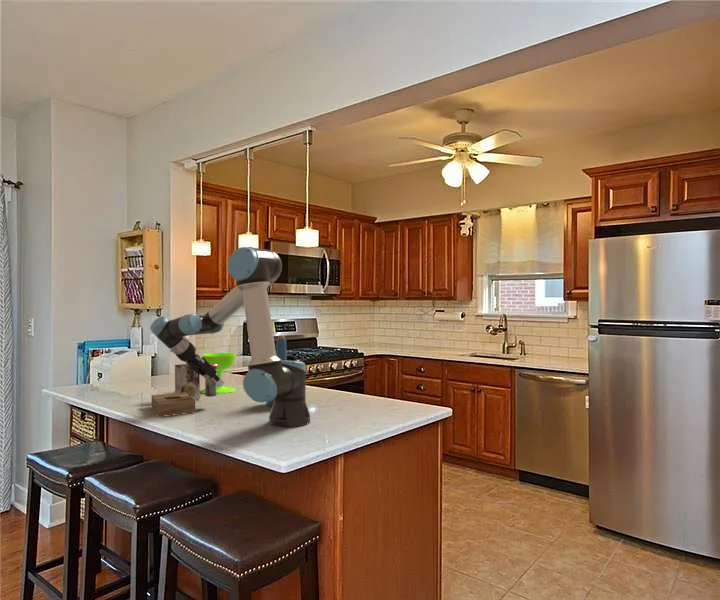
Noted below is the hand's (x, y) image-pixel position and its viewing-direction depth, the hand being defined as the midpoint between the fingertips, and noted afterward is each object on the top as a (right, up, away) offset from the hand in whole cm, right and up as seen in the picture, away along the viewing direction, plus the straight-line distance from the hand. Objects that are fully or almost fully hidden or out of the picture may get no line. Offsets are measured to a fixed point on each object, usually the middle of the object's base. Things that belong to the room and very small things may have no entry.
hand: (218, 384), depth 225 cm
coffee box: (-18, -10, +14) cm, 24 cm away
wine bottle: (+26, -10, +4) cm, 28 cm away
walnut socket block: (-17, -9, -7) cm, 21 cm away
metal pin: (-2, -4, -3) cm, 6 cm away
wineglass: (-9, -9, +36) cm, 39 cm away
